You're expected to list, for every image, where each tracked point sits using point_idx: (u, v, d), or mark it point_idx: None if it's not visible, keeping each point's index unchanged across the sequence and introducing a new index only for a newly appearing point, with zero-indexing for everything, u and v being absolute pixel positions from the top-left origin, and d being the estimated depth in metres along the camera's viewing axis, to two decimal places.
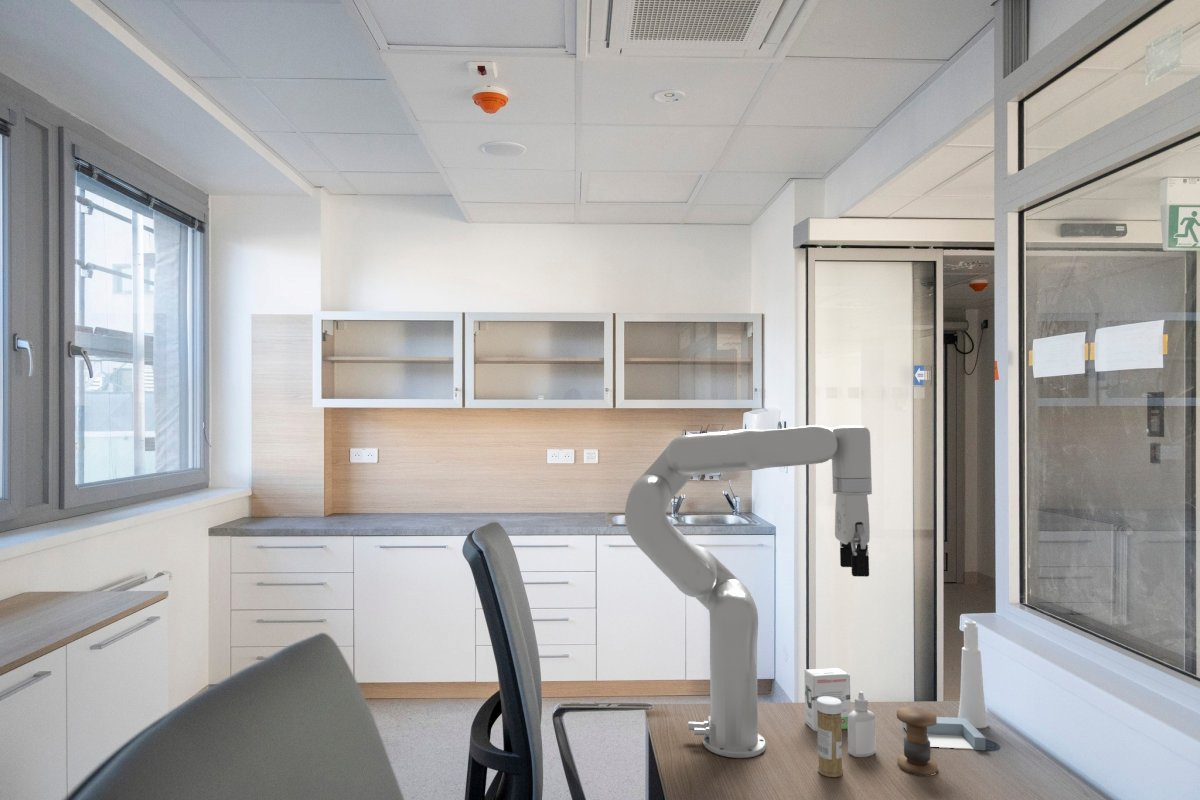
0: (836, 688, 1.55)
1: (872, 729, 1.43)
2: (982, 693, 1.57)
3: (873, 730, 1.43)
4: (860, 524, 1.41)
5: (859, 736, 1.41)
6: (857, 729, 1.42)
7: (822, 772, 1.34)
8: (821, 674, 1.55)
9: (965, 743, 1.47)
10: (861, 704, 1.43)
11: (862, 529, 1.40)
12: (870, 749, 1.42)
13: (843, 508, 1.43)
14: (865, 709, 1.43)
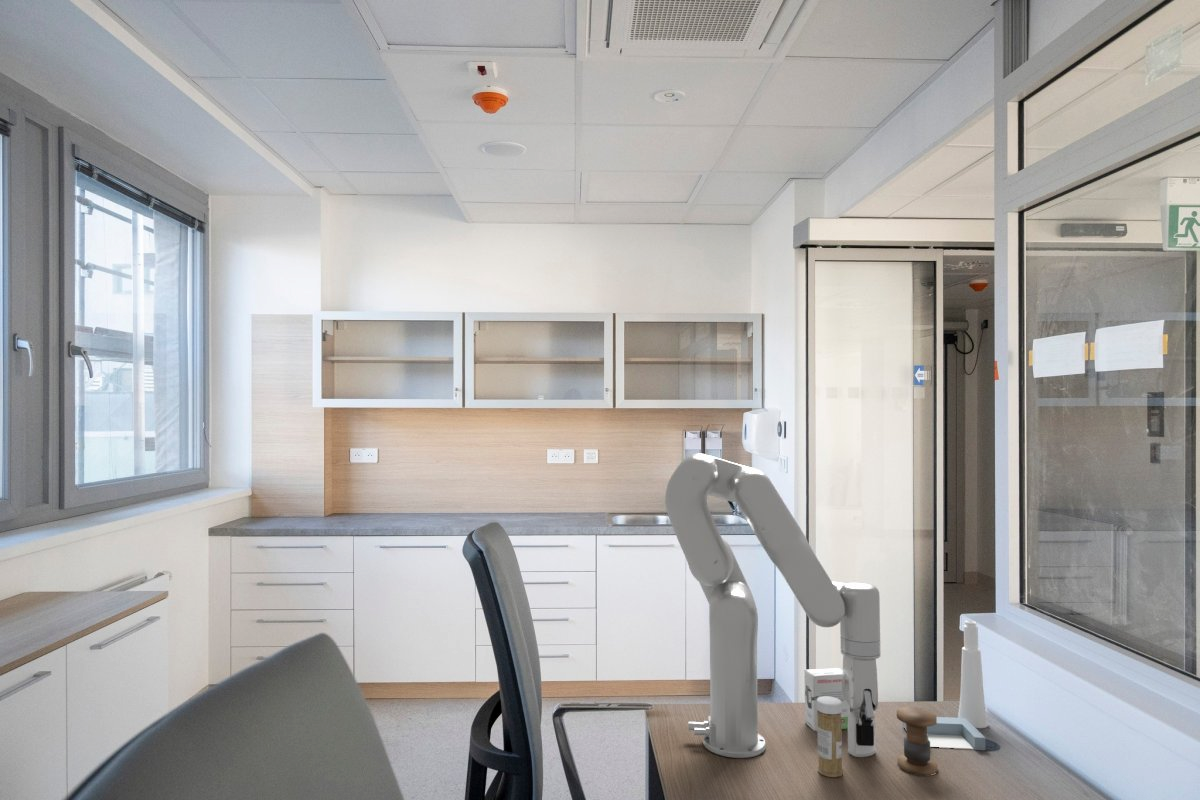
0: (836, 688, 1.55)
1: None
2: (982, 693, 1.57)
3: None
4: (868, 694, 1.39)
5: None
6: None
7: (822, 772, 1.34)
8: (821, 674, 1.55)
9: (965, 743, 1.47)
10: None
11: (869, 704, 1.38)
12: (870, 749, 1.42)
13: (851, 672, 1.41)
14: None
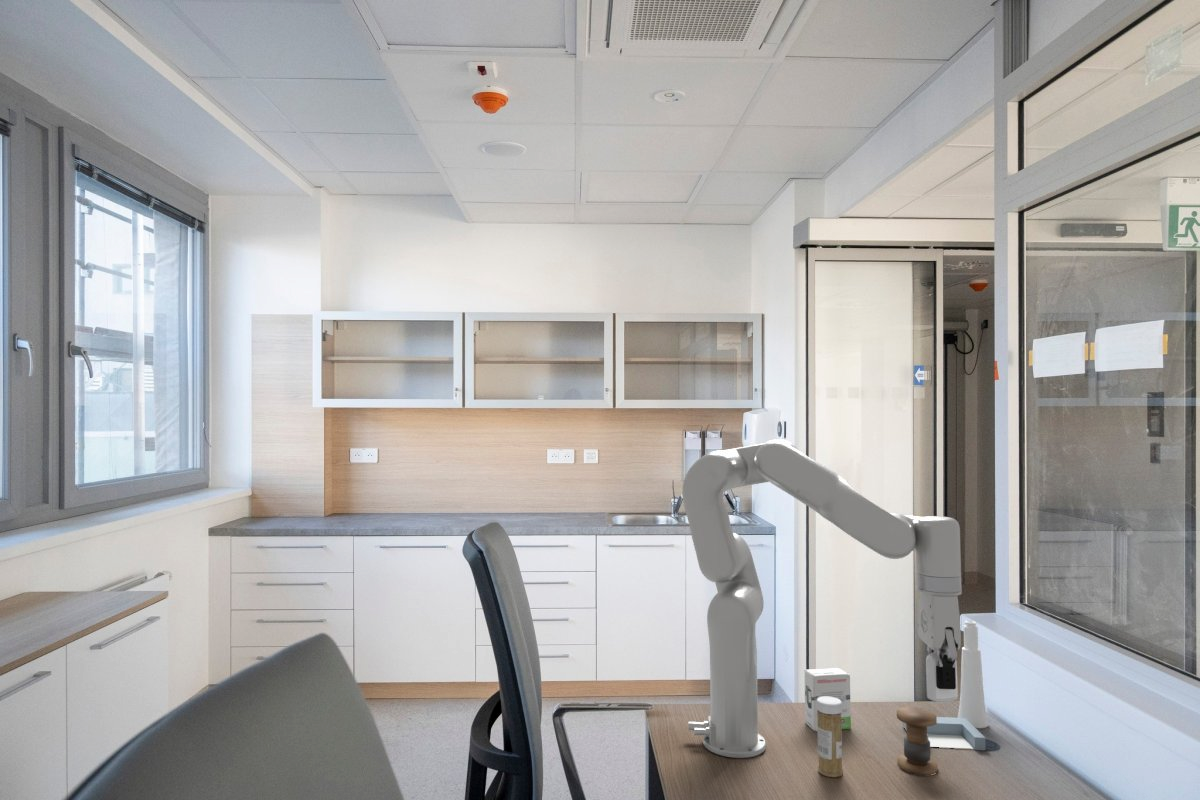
0: (836, 688, 1.55)
1: None
2: (982, 693, 1.57)
3: None
4: (950, 633, 1.29)
5: None
6: None
7: (822, 772, 1.34)
8: (821, 674, 1.55)
9: (965, 743, 1.47)
10: None
11: (952, 643, 1.28)
12: (952, 693, 1.31)
13: (930, 610, 1.31)
14: None
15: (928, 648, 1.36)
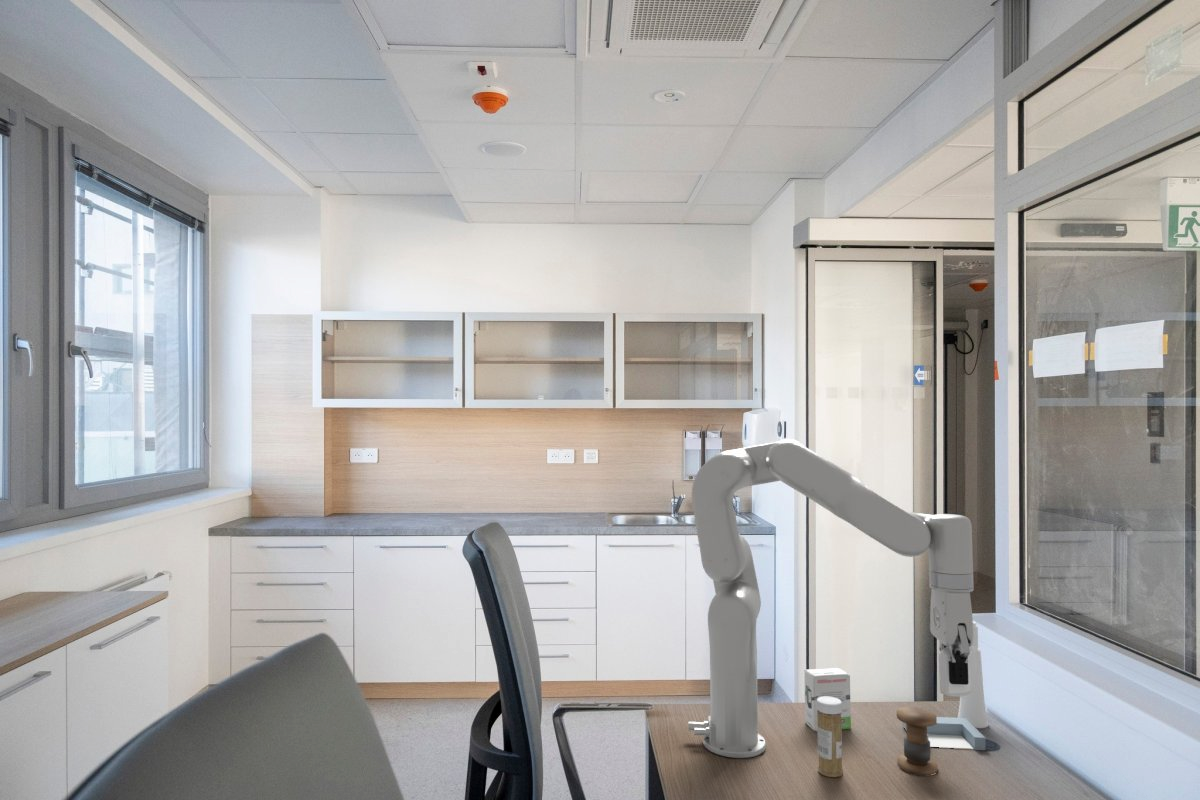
0: (836, 688, 1.55)
1: None
2: (982, 693, 1.57)
3: None
4: (962, 629, 1.31)
5: None
6: None
7: (822, 772, 1.34)
8: (821, 674, 1.55)
9: (965, 743, 1.47)
10: None
11: (965, 638, 1.30)
12: (964, 688, 1.33)
13: (943, 607, 1.33)
14: None
15: (940, 644, 1.38)
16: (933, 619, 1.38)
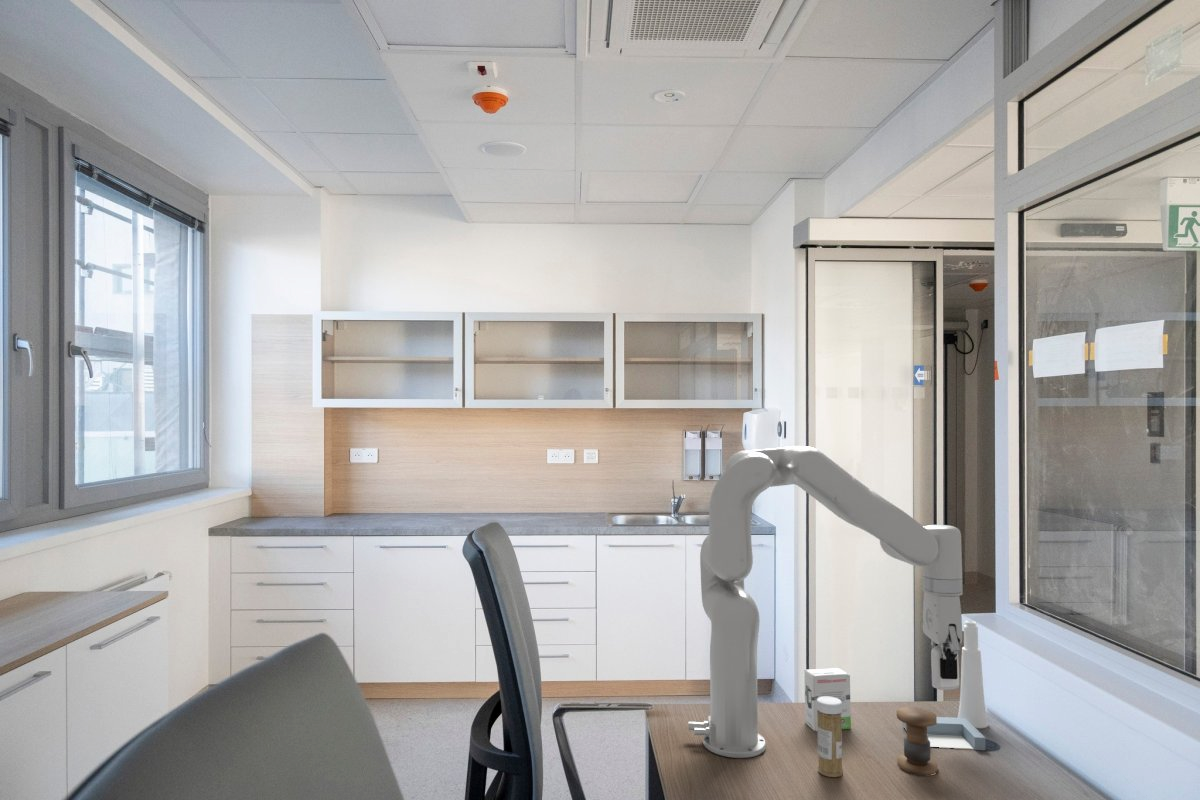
0: (836, 688, 1.55)
1: None
2: (982, 693, 1.57)
3: None
4: (953, 629, 1.45)
5: None
6: None
7: (822, 772, 1.34)
8: (821, 674, 1.55)
9: (965, 743, 1.47)
10: None
11: (955, 638, 1.44)
12: (954, 682, 1.48)
13: (935, 609, 1.47)
14: None
15: (932, 643, 1.52)
16: (926, 620, 1.52)
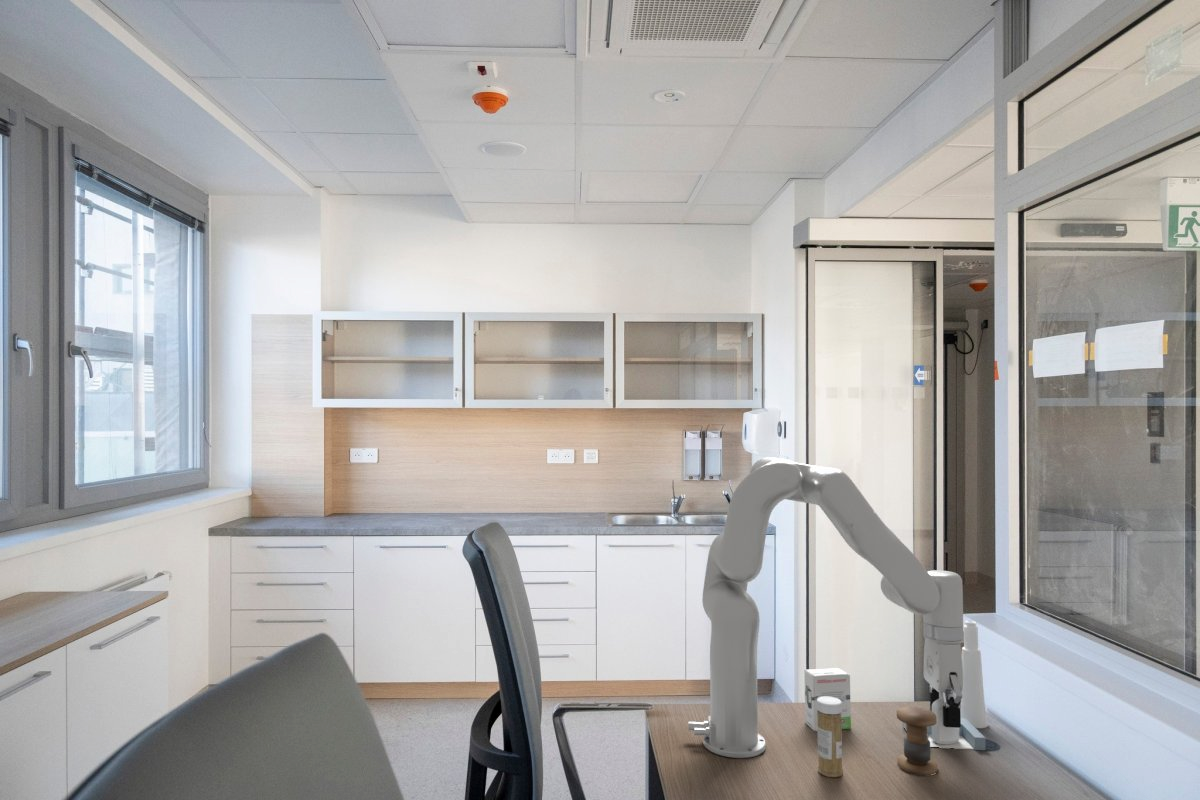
0: (835, 688, 1.55)
1: None
2: (982, 693, 1.57)
3: None
4: (954, 676, 1.44)
5: (942, 724, 1.47)
6: (941, 717, 1.47)
7: (822, 772, 1.34)
8: (821, 674, 1.55)
9: (965, 743, 1.47)
10: None
11: (956, 684, 1.43)
12: (954, 737, 1.47)
13: (936, 656, 1.46)
14: (949, 698, 1.48)
15: (931, 685, 1.53)
16: (926, 666, 1.52)
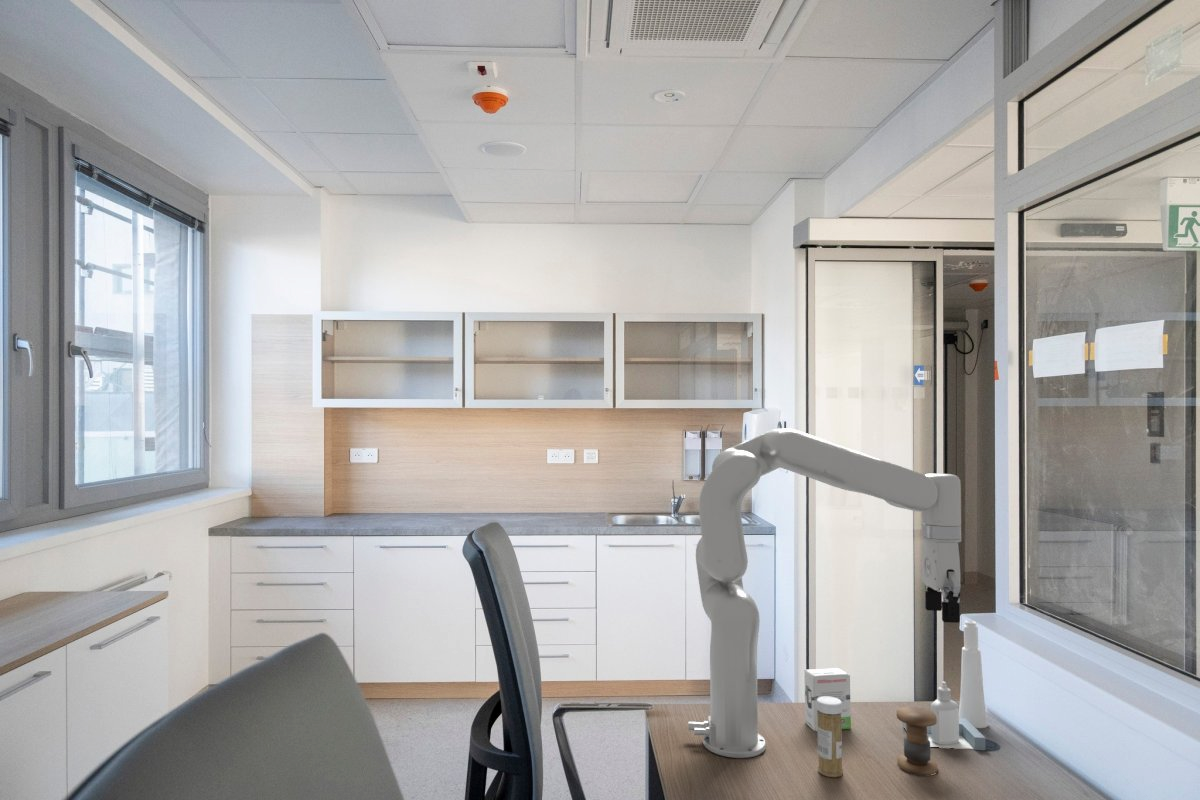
0: (836, 688, 1.55)
1: (955, 718, 1.48)
2: (982, 693, 1.57)
3: (956, 719, 1.48)
4: (951, 571, 1.45)
5: (942, 724, 1.47)
6: (940, 718, 1.47)
7: (822, 772, 1.34)
8: (821, 674, 1.55)
9: (965, 743, 1.47)
10: (944, 694, 1.48)
11: (954, 577, 1.43)
12: (953, 737, 1.47)
13: (934, 555, 1.47)
14: (948, 698, 1.48)
15: (927, 585, 1.55)
16: (924, 568, 1.52)
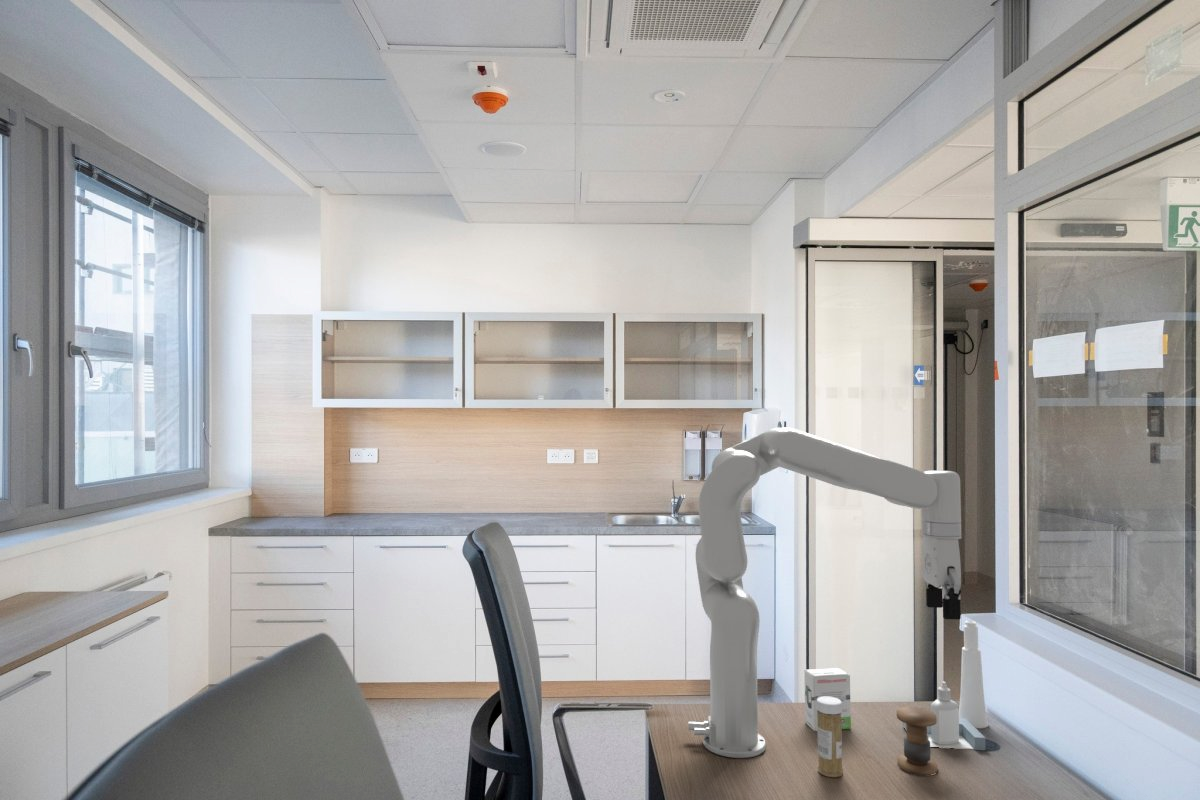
0: (836, 688, 1.55)
1: (955, 718, 1.48)
2: (982, 693, 1.57)
3: (956, 719, 1.48)
4: (952, 568, 1.45)
5: (942, 724, 1.47)
6: (940, 718, 1.47)
7: (822, 772, 1.34)
8: (821, 674, 1.55)
9: (965, 743, 1.47)
10: (944, 694, 1.48)
11: (955, 573, 1.44)
12: (953, 737, 1.47)
13: (934, 552, 1.47)
14: (948, 698, 1.48)
15: (927, 582, 1.55)
16: (924, 565, 1.52)
